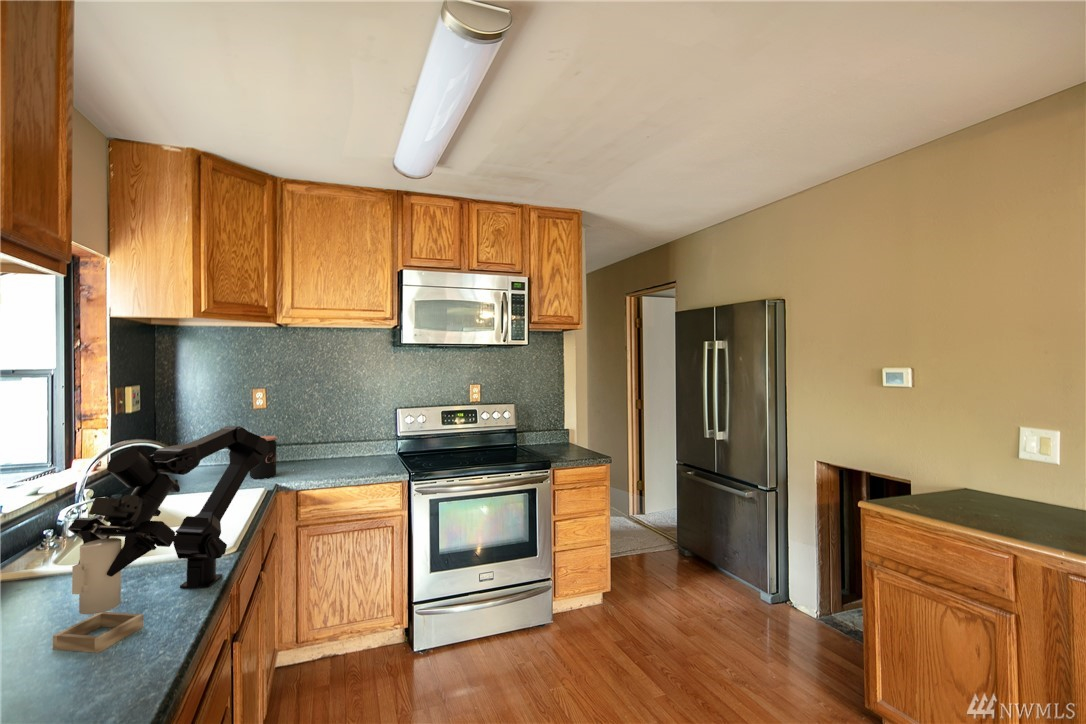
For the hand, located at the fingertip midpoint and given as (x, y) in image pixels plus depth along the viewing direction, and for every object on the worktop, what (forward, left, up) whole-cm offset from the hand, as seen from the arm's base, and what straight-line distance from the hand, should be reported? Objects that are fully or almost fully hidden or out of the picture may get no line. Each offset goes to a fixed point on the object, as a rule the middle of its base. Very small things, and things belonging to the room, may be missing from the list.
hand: (93, 574), depth 97 cm
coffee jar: (-143, -32, -13) cm, 147 cm away
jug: (-1, 0, -7) cm, 7 cm away
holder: (-1, 0, -12) cm, 13 cm away
